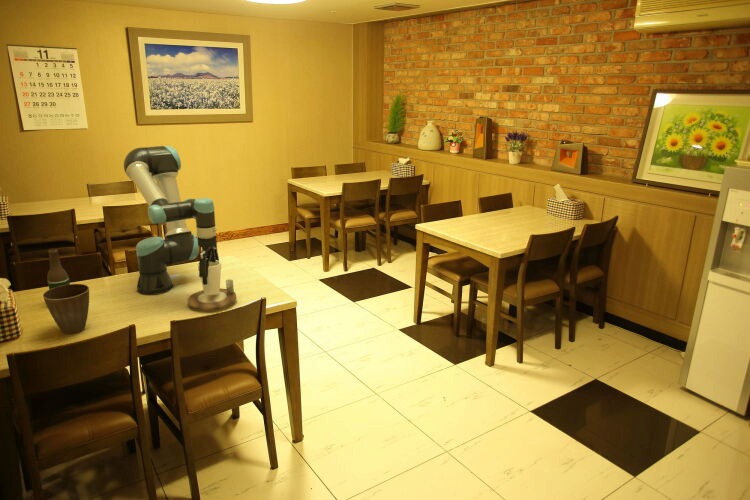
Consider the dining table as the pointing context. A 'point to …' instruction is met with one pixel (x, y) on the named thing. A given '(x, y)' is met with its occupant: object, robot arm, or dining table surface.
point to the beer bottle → (56, 271)
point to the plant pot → (68, 306)
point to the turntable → (213, 298)
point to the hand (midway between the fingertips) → (211, 286)
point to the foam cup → (213, 277)
